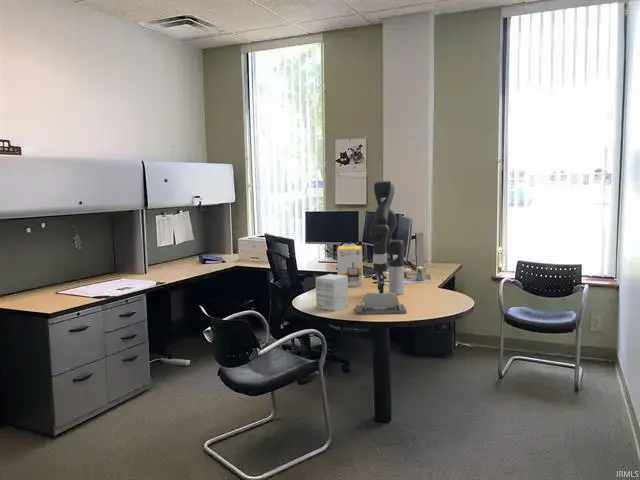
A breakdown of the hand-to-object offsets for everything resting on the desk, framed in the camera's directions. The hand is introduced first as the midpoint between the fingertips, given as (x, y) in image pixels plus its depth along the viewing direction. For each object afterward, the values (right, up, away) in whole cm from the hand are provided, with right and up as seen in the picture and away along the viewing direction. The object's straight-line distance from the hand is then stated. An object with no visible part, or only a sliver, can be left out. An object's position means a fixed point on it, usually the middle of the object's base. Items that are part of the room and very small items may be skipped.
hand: (380, 291), depth 287 cm
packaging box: (-12, -2, +76) cm, 77 cm away
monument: (+26, -2, +77) cm, 81 cm away
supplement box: (-26, -10, +11) cm, 30 cm away
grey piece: (0, -9, +1) cm, 9 cm away
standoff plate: (0, -10, +1) cm, 11 cm away
